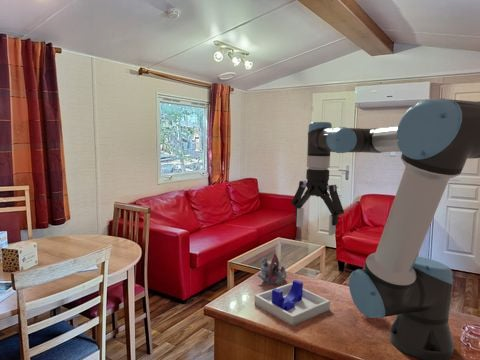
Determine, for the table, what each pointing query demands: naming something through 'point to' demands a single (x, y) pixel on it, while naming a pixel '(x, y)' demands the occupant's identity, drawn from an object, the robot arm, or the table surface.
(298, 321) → the kit tray
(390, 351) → the table surface
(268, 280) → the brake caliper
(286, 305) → the blue curved block
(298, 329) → the table surface
